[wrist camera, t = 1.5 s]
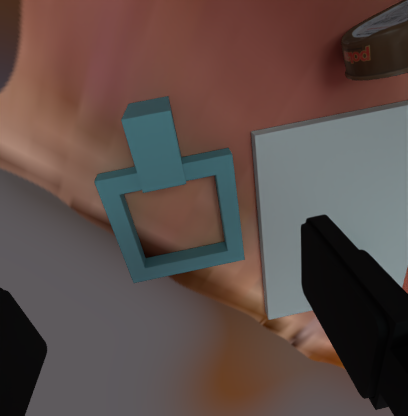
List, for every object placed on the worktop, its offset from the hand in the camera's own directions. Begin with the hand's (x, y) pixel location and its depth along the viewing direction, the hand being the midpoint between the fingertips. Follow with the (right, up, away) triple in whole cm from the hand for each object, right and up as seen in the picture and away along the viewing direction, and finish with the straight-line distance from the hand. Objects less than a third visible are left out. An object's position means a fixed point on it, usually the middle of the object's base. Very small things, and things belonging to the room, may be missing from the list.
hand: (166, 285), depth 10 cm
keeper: (+15, +1, +21) cm, 25 cm away
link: (-2, +4, +17) cm, 17 cm away
